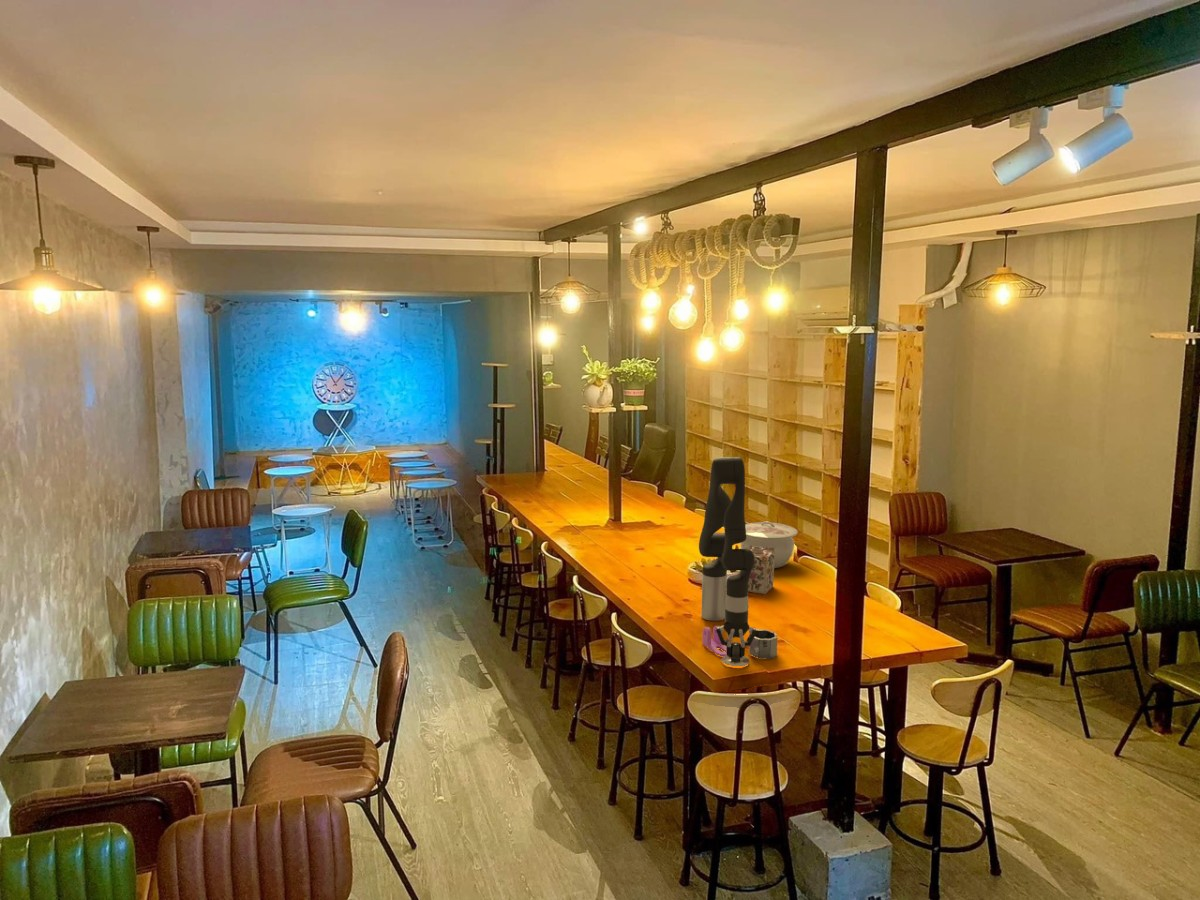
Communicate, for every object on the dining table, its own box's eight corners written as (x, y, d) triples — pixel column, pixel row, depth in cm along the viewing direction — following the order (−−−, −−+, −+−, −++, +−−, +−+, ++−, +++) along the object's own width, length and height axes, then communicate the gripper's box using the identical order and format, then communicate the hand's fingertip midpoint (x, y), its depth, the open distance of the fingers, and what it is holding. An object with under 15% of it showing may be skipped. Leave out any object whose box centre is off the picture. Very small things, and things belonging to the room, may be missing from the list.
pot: (747, 646, 291) (748, 627, 290) (773, 647, 291) (774, 627, 289) (751, 661, 279) (751, 641, 278) (778, 662, 278) (779, 642, 277)
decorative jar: (738, 590, 350) (739, 549, 347) (747, 582, 360) (748, 542, 357) (766, 595, 344) (767, 553, 341) (774, 586, 354) (775, 546, 351)
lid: (720, 657, 282) (720, 638, 281) (747, 657, 282) (748, 639, 281) (722, 668, 273) (723, 649, 272) (750, 669, 273) (751, 649, 272)
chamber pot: (802, 574, 372) (804, 529, 368) (741, 573, 372) (742, 528, 369) (789, 555, 399) (791, 514, 396) (732, 555, 400) (733, 513, 397)
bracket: (702, 645, 293) (702, 626, 292) (716, 642, 295) (716, 624, 294) (720, 659, 281) (720, 639, 280) (734, 656, 283) (735, 637, 282)
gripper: (757, 604, 278) (755, 653, 280) (714, 603, 279) (713, 651, 282) (759, 612, 270) (757, 662, 273) (715, 610, 271) (714, 660, 274)
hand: (735, 656), depth 277 cm, fingers closed on lid, 3 cm apart
